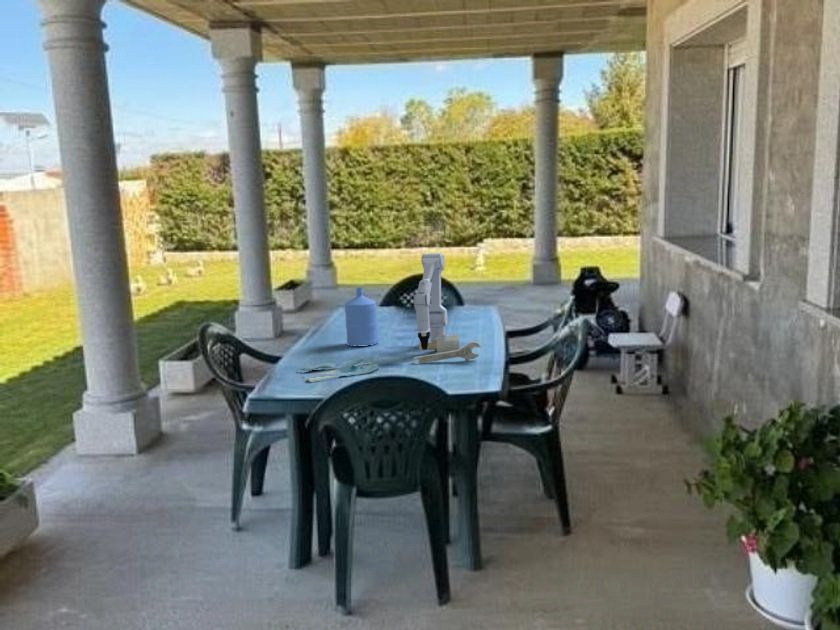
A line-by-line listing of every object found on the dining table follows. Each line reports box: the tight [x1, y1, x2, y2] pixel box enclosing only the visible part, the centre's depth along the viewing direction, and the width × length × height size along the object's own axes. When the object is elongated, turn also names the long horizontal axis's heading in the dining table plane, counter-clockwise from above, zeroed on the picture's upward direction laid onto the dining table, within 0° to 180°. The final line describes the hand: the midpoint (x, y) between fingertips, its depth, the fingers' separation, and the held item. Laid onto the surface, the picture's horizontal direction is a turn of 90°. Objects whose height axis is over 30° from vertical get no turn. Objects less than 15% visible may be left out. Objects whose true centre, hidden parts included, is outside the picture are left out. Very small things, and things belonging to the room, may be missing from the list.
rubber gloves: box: [298, 356, 380, 382], centre depth 327 cm, size 27×33×6 cm
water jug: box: [344, 287, 380, 346], centre depth 377 cm, size 16×16×28 cm
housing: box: [436, 333, 460, 354], centre depth 349 cm, size 14×10×7 cm
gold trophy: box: [418, 339, 437, 354], centre depth 349 cm, size 6×14×6 cm, turn 90°
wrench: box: [412, 341, 482, 365], centre depth 332 cm, size 8×2×30 cm
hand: (424, 348), depth 349 cm, fingers closed on gold trophy, 2 cm apart
